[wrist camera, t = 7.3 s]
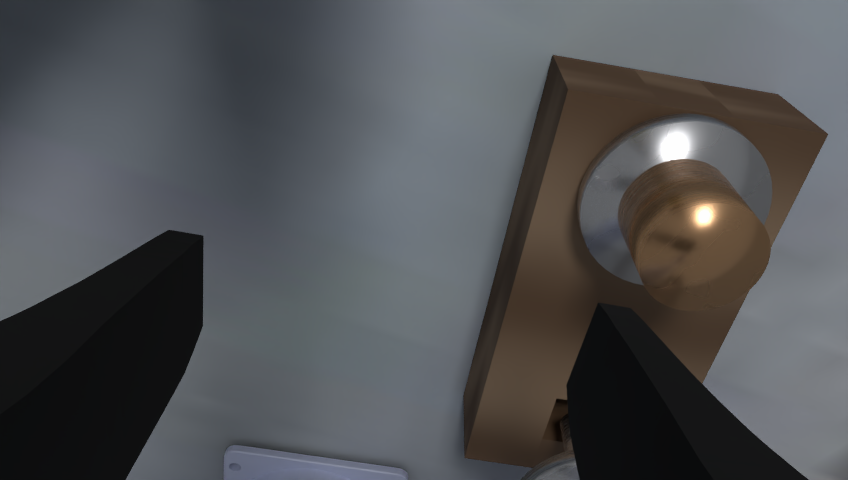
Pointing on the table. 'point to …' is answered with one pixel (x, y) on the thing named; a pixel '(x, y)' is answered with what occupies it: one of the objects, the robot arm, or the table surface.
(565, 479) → the chrome threaded knob
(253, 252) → the table surface
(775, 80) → the table surface
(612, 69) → the stand
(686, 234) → the copper plunger
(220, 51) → the table surface
